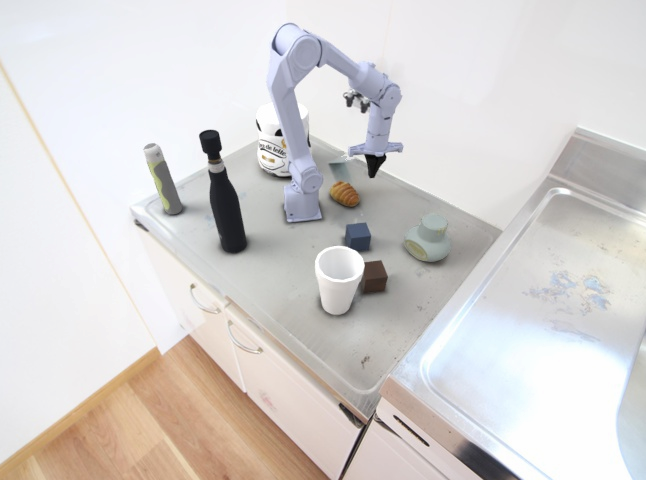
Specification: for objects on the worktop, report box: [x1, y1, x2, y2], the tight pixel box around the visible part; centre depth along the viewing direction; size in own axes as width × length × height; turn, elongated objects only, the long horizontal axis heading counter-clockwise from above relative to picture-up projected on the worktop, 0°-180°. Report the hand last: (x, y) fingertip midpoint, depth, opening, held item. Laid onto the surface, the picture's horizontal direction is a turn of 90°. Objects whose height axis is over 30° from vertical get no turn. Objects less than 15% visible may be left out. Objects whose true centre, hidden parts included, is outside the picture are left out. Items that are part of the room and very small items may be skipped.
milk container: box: [255, 102, 313, 178], centre depth 105 cm, size 17×17×18 cm
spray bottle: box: [142, 142, 183, 215], centre depth 90 cm, size 5×5×20 cm
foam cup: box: [314, 245, 365, 316], centre depth 70 cm, size 10×9×13 cm
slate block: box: [344, 221, 372, 253], centre depth 85 cm, size 5×5×5 cm
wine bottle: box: [198, 129, 248, 254], centre depth 77 cm, size 6×6×30 cm
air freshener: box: [403, 212, 452, 263], centre depth 81 cm, size 11×8×10 cm
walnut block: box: [359, 259, 389, 295], centre depth 77 cm, size 5×5×5 cm
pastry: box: [329, 180, 360, 208], centre depth 98 cm, size 9×7×4 cm
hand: (371, 176), depth 97 cm, fingers closed
